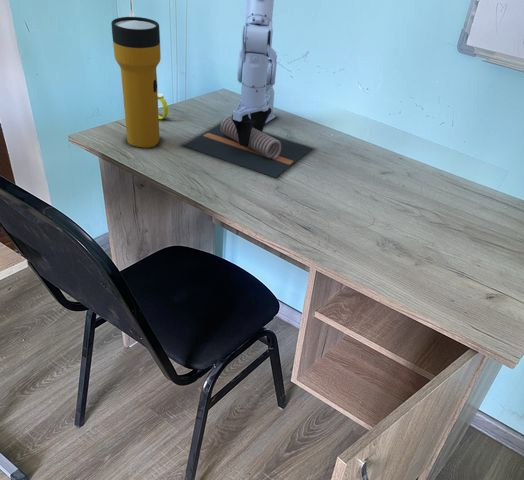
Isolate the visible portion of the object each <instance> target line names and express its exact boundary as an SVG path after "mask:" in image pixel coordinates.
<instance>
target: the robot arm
mask: <svg viewBox="0 0 524 480" xmlns="http://www.w3.org/2000/svg"><path fill="white" fill-rule="evenodd" d="M274 2H275V0H247V5H246V14H245V25H243V27H242V32H241V49H240V51H239V55H238V56H239V57H238V62H237V81H238V83H239V84H241V87H240V100H239V103H238V104H237V106H236V108H235V109H234V110H232V114H231V117H232V121H233V123H234V125H235V127H236V130H237V134H238V139H239V144H240V145H242V146H245V147H247V146H248V144H249V140H250V134H251V130H252V127H253V128H255V129H257V130H259V131H261V132H263V131H264V127H265V126H266V125H265V124H268V123H269V122H270V121H272V120H274V119H275V118H276V115H275V114H273V112H274V102H275V89H274V85H276V74H277V65H278V62H277V59H278V55H277V51H276V50H275V48H273V47H272V46H273V35H274V34H273V33H274V31H273V29H274V28H273V16H274V5H275V3H274Z"/></svg>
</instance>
